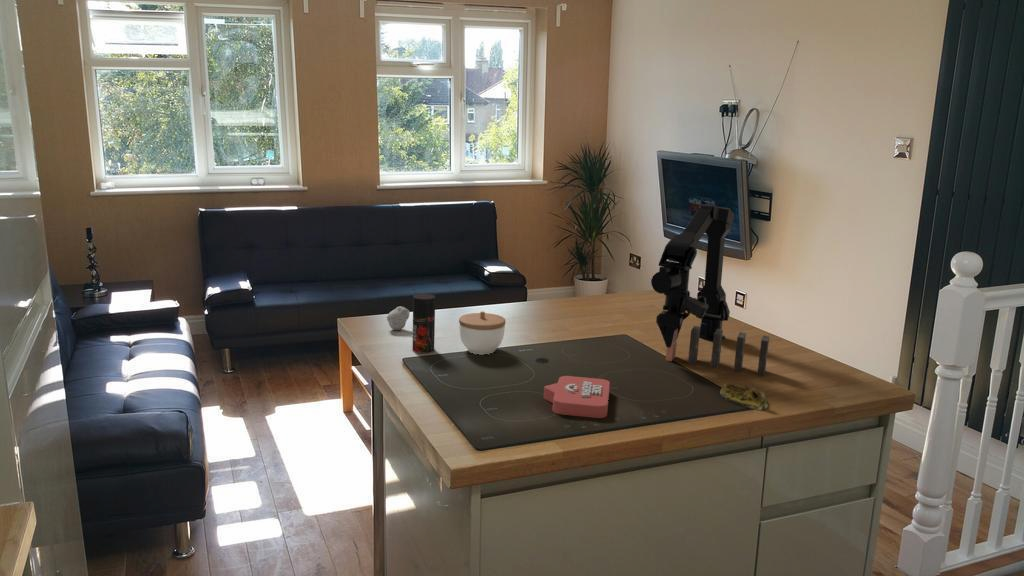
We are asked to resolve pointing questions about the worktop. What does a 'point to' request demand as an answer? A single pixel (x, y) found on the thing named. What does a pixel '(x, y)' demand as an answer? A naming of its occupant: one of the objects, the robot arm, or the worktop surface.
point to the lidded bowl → (481, 332)
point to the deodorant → (423, 323)
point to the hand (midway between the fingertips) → (672, 342)
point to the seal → (745, 396)
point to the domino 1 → (672, 348)
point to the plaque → (579, 396)
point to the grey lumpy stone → (398, 318)
